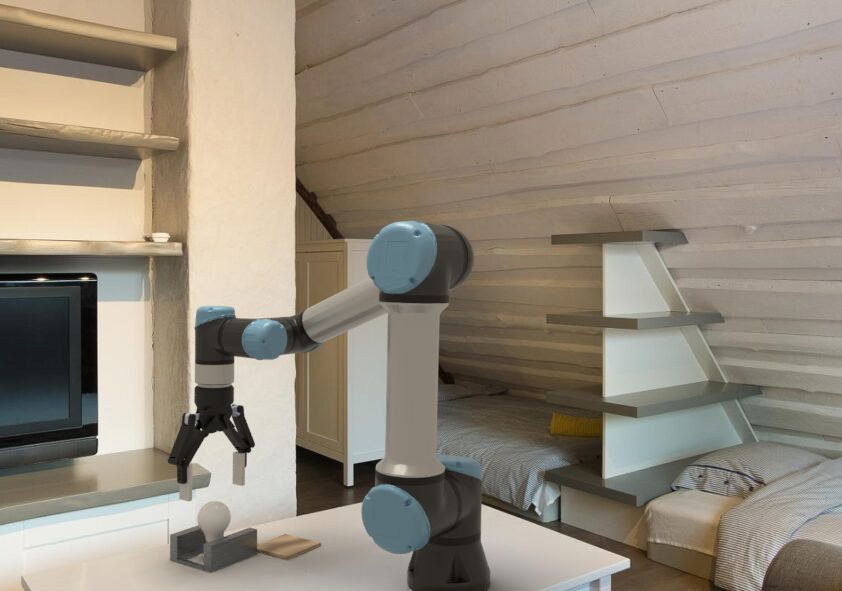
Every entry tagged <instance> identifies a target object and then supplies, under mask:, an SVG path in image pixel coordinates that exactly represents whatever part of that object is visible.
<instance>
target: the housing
mask: <svg viewBox="0 0 842 591" xmlns="http://www.w3.org/2000/svg"><path fill="white" fill-rule="evenodd" d="M257 544H258V528H254V527H248V528H244V529H243V530H239V531H237V532H234V533H231V534H228V535H225V533H224V534H223V537H222V538H219V539H216V540H213V541H211V542H208V543H207V542H206V539H205V535H204V533H203V531H202V530H201V529H200V527H199V525H195V526H192V527H190V528H187V529H184V530H180V531H177V532H174V533H170V535H169V560H170V561H171V562H175V563H178V564H182V565H185V566H188V567H192V568H194V569H198V570H201V571H205V572H208V573H214V572H216V571H218V570H221V569H223V568H225V567H228V566H229V567H230V566H231V565H233V564H236V563H238V562H241V561H244V560H247V559H248V558H251V557H253V556H256V555H257V554H258V552H257ZM201 554H203V564H201V563H199V562H194V561H192V560H188V559H189V558H192V557H195V556H197V555H201Z"/></svg>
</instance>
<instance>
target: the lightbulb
mask: <svg viewBox="0 0 842 591" xmlns="http://www.w3.org/2000/svg"><path fill="white" fill-rule="evenodd" d="M231 518H232V515H231V511H230V509H229V507H228V506H227V505H226V504H225V503H223V502H222V501H217V500H214V501H213V500H212V501H209V502H207V503H205V504H203V506H201V508H200V509H199V511H198V514H197V520H196V521H197V524H198V525H199V527H200V529H201V530H202V531H203V533H204V535H205V539H206V542H207V543H208V542H211V541H213V540H216V539H219V538H222V537H223V534H224V535H225V532H226V530H227V528H228V526H230V523H231ZM198 525H197V526H198Z"/></svg>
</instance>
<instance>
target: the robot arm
mask: <svg viewBox="0 0 842 591" xmlns="http://www.w3.org/2000/svg"><path fill="white" fill-rule="evenodd" d="M474 266H475V252H474V247H473V245H472V243H471V241H470V240H469V238H468V237H467V236H466V235H465V234H464V233H463V231H461V230H459V229H458V228H456V227H453V226H451V225H446V224H436V223H429V222H424V221H415V220H406V221H404V220H403V221H396V222H392V223H390V224H388V225H386V226H384V227H383V228H381V229H380V230H379V232H378V233H377V234H376V235H375V236H374V237H373V239H372V240H371V242H370V244H369V246H368V249H367V255H366V271H367V273H368V276H369V277H367V278H366V279H363V280H362V281H360V282H357V283H355V284H353V285H352V286H349V287H348V288H345V289H344V290H341V291H339V292H337V293H336V294H334V295H332V296H330V297H328V298H326V299H324V300H322V301H319V302H318V303H316V304H314V305H311V306H309V307H308V308H306V309H305V310H302V311H299V312H298V313H296V314H294V315H290V316H278V317H264V318H248V317H247V318H242V317H241V318H240V317H237V315H236V310H235V307H232V306H227V305H204V306H203V305H202V306H199V307H198V308H197V310H196V312H195V322H194V324H195V325H194V326H193V328H194V342H195V343H194V347H195V348H194V383H195V384H196V386H195V387H194V393H193V394H194V401H193V402H194V405H195V406H196V407H195V408H196V410H195V413H189V412H183V413H182V416H181V425H180V427H179V430H178V433H177V436H176V438H175V440H174V443H173V446H172V448H171V451H170V454H169V455H168V456H169V457H168V459H167V463H168V464H170V465H173V466H175V467H176V469H177V470H176V482H177V483H178V484H179V493H178V494H179V498H178V499H179V500H181V501H186V502H193V466H192V465H190V464H191V462H192V461H193V458H194V457H195V455H196V454H197V452H198V450H199V448H200V447H201V445H202V444H203V441H204V440H205V438H207V437H208V436H209V435H210V434H215V433H217V432H222V433H223V434H224V435H225V436H226V438H227V439H228V440H229V442H230V443H231V445H232V446H233V447H234V449H235V450H236V451H232V484H233V485H237V486H240V487H243V486H245V484H246V482H245V480H246V479H245V478H246V477H245V476H246V474H245V473H246V468H247V466H248V465H247V464H248V462H247V461H248V458H247V457H248V454H250V453H251V452H252V448H253V449H254V448H255V446H256V443H255V440H254V437H253V434H252V432H251V430H250V428H249V425H248V422H247V419H246V416H245V408H244V406H243V405H241V404H235V403H234V402H235V401H234V400H235V398H234V397H235V387H234V386H233V385H232V384H234V382H235V357H237V358H244V359H254V360H257V361H268V360H269V361H271V360H275V359H278V358H279V357H280V356H284V355H293V354H307V353H310V352H314V351H317V350H319V349H320V348H321V347H323V345H324V343H325V342H327V341H329V340H331V339H333V338H335V337H338V336H340V335H341V334H345V333H347V332H348V331H350V330H354V329H356V328H358V327H359V326H362V325H363V324H365V323H369V322H370V321H372V320H375V319H377V318H378V317H381V316H383V315H386V314H387V340H386V341H387V343H386V344H387V345H386V388H385V389H386V391H385V392H386V393H385V395H386V399H385V433H384V434H385V436H384V437H385V439H384V440H385V442H384V443H385V444H384V456H383V458H382V459H380V461H378V462H377V463H376V465H375V472H374V473H375V476H374V478H375V480H374V481H375V483H374V484H375V485H374V486H373V487H372V488H370V490H369V491H368V493H367V494H366V495H365V496H364V498H363V499H362V504H361V510H360V511H361V520H362V523H363V526H364V529H365V531H366V533H367V534H368V536H369V537H371V538H372V539H373V542H374V544H375V545H376V546H378V547H379V548H381V549H382V550H383V551H386V552H387V553H392V554H395V555H406V554H409V553H411V552H412V554H411V557H410V560H409V563H408V567H407V572H406V573H407V574H406V575H407V576H406V577H407V578H406V582H407V586H408V587H409V588H410V589H412V591H487V590H489V588H490V585H491V569H490V567H489V564H488V560H487V557H486V553H485V550H484V547H483V544H482V498H483V497H482V495H483V492H482V490H483V482H484V481H483V480H484V479H483V478H482V475H483V474H482V465H481V464H480V462H479V461H478V460H476V459H474V458H471V457H466V456H460V455H451V454H437V442H438V441H437V439H438V438H437V435H438V434H437V433H438V402H439V401H438V397H439V361H440V360H439V358H440V357H439V356H440V355H439V352H440V349H439V348H440V319H441V318H440V316H441V314H442V312H443V311H445V309H447V308H448V306H450V292H451V291H453V290H455V289H458V288H460V287H461V286H462V285H463V284H465V282H467V280H468V279H469V277H470V276H471V274H472V272H473V270H474ZM231 418H232V420H231ZM232 421H233V422H232Z"/></svg>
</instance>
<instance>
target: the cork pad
mask: <svg viewBox="0 0 842 591" xmlns="http://www.w3.org/2000/svg"><path fill="white" fill-rule="evenodd" d="M321 546H322V542H320V541H316V540H311V539H307V538H303V537H299V536H294V535H292V534H291V535H290V534H287V533H283V534H281V535H278V536H276V537H273V538H270V539H268V540H265V541H263V542H260V543H257V553H261V554H264V555H268V556H272V557H276V558H278V559H279V558H280V559H283V560H286V561H288V560H291V559H293V558H296V557H298V556H300V555H304V554H305V553H307V552H310V551H311V550H314V549H317V548H319V547H321Z"/></svg>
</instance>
